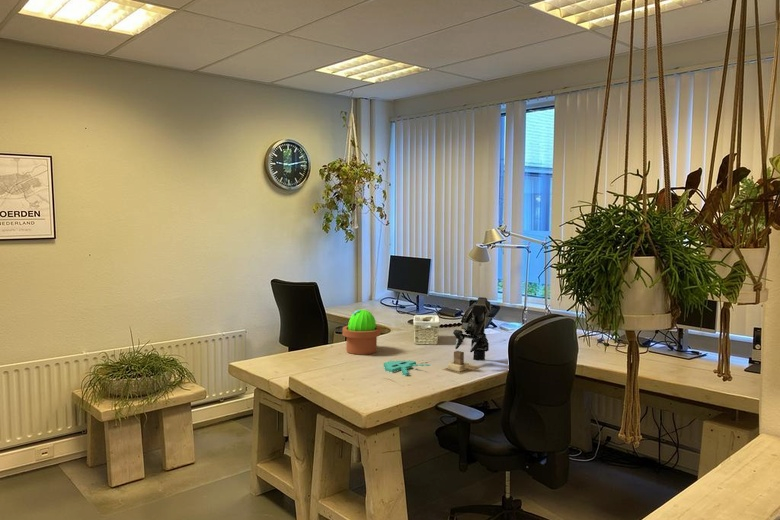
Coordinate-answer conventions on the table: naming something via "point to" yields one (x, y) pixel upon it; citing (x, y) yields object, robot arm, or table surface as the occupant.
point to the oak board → (471, 368)
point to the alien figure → (400, 366)
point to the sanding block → (458, 362)
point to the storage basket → (426, 329)
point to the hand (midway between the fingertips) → (463, 350)
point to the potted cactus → (361, 333)
